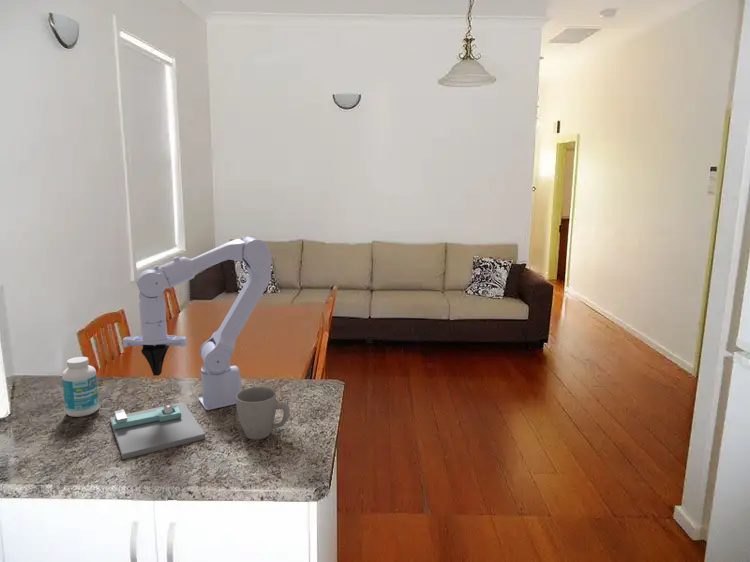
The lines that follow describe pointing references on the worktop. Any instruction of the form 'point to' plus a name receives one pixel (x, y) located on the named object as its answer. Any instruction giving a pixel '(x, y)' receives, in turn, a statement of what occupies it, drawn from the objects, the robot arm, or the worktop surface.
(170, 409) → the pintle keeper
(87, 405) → the pill bottle
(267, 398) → the mug
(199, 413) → the worktop surface
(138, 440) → the board
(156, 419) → the link
